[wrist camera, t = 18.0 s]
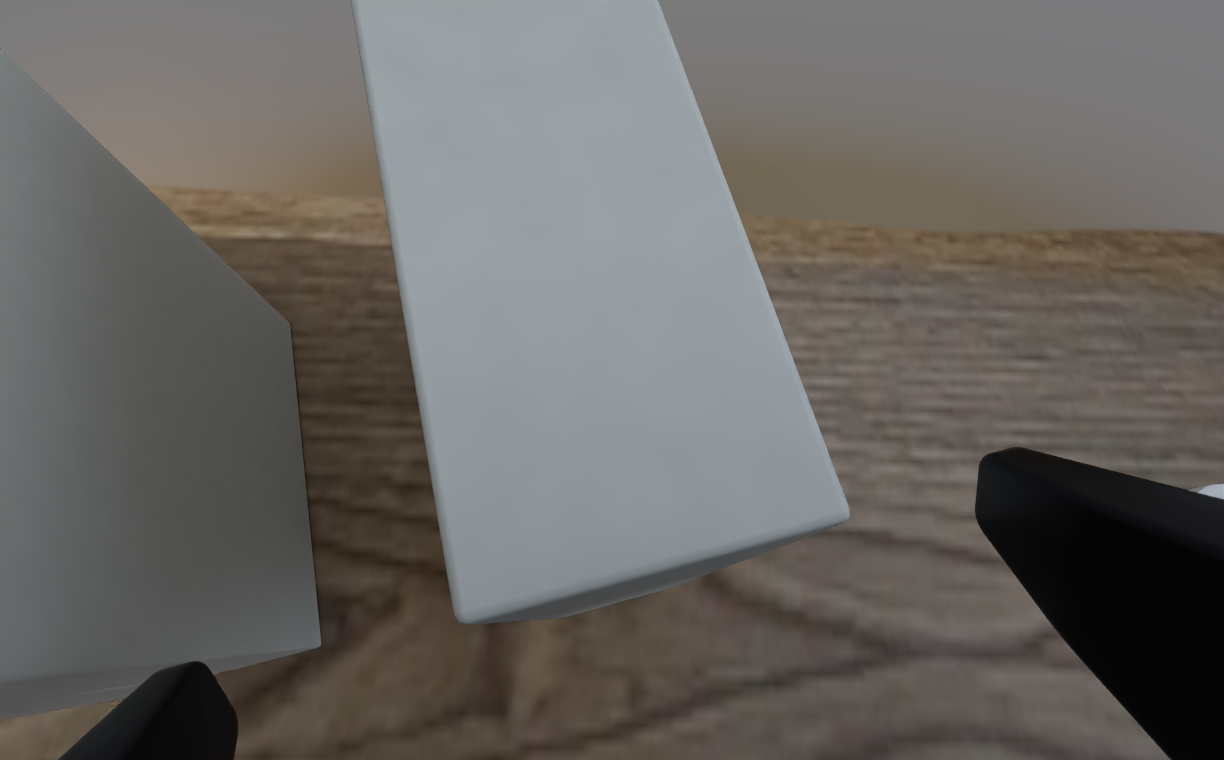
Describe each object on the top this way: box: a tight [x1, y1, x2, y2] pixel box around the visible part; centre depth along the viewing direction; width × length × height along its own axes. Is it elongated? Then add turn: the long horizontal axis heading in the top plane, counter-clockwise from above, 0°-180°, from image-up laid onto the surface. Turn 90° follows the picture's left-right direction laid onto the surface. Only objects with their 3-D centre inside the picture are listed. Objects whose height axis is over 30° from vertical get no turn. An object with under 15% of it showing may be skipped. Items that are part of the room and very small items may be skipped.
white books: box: [0, 49, 321, 720], centre depth 11 cm, size 9×5×13 cm, turn 14°
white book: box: [351, 0, 849, 625], centre depth 12 cm, size 9×3×13 cm, turn 15°
